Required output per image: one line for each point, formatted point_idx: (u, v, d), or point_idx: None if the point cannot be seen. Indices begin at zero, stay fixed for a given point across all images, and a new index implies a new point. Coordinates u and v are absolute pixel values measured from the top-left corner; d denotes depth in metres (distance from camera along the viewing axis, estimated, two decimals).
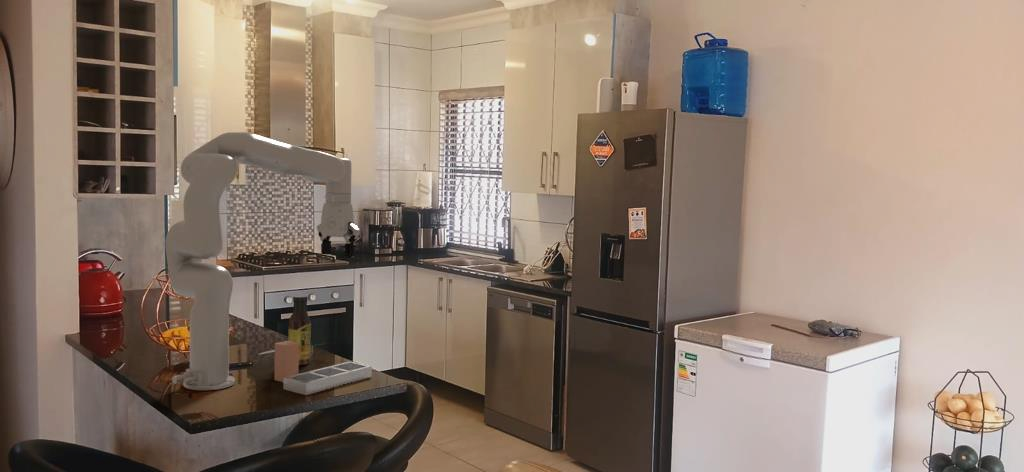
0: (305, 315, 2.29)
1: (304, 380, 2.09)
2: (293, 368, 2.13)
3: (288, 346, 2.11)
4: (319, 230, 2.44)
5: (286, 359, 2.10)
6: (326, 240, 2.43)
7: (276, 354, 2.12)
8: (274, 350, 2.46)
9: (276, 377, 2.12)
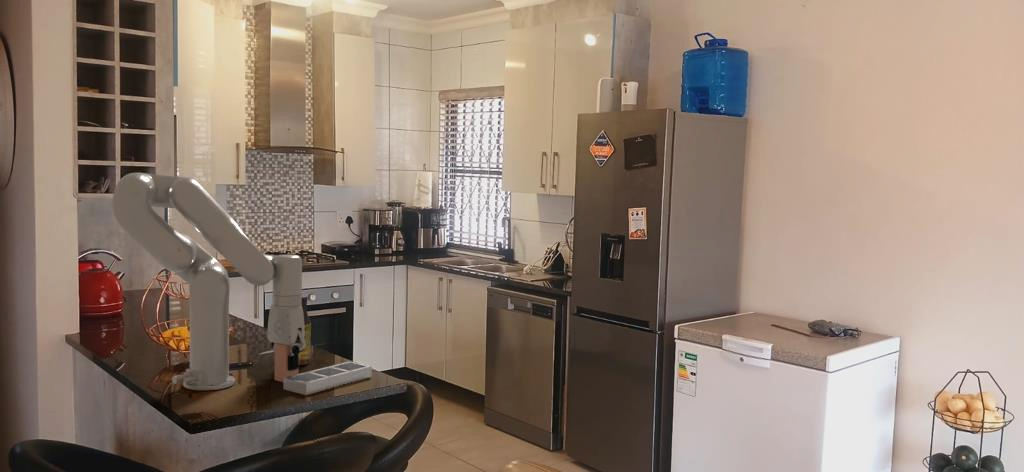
0: (305, 315, 2.29)
1: (304, 380, 2.09)
2: None
3: None
4: None
5: (286, 359, 2.10)
6: None
7: (276, 354, 2.12)
8: None
9: (276, 377, 2.13)
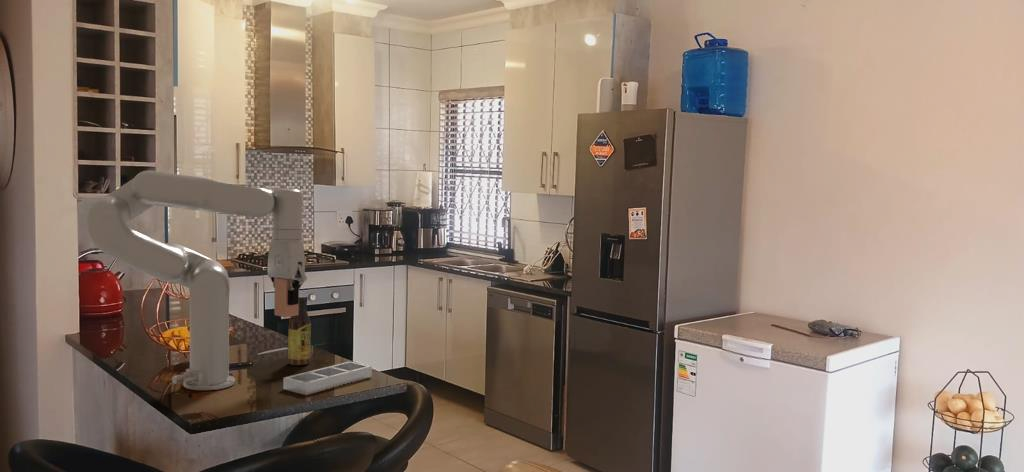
0: (305, 315, 2.29)
1: (304, 380, 2.09)
2: None
3: None
4: (271, 276, 2.14)
5: (286, 293, 2.09)
6: None
7: (276, 289, 2.11)
8: (274, 350, 2.46)
9: (276, 312, 2.11)
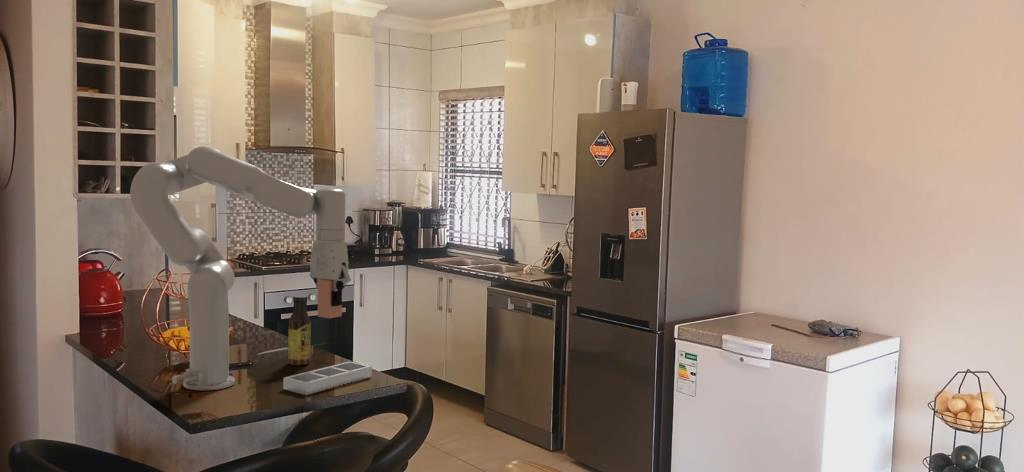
0: (305, 315, 2.29)
1: (304, 380, 2.09)
2: None
3: None
4: (313, 276, 2.12)
5: (330, 294, 2.07)
6: None
7: (319, 290, 2.09)
8: (273, 350, 2.47)
9: (319, 313, 2.09)
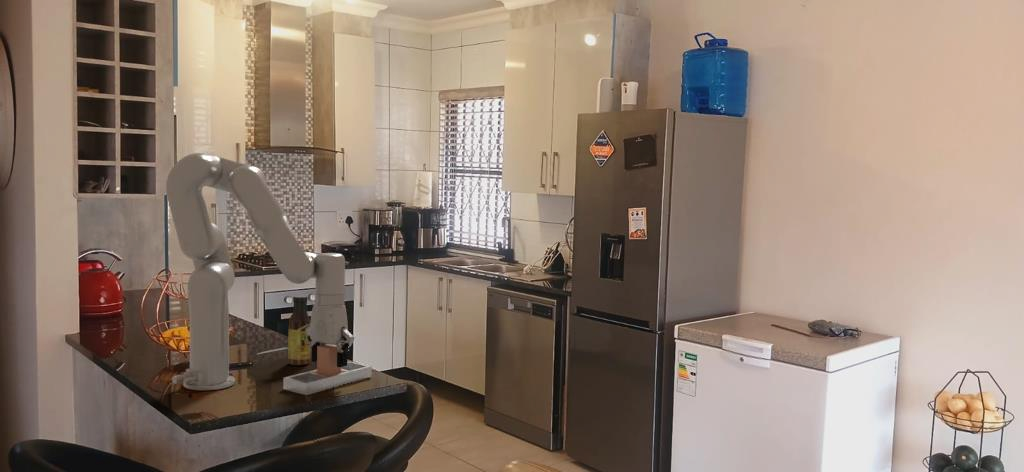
0: (305, 315, 2.29)
1: (304, 380, 2.09)
2: (336, 371, 2.11)
3: (331, 349, 2.09)
4: (308, 333, 2.14)
5: (329, 362, 2.08)
6: (316, 345, 2.13)
7: (318, 357, 2.10)
8: (273, 350, 2.47)
9: None
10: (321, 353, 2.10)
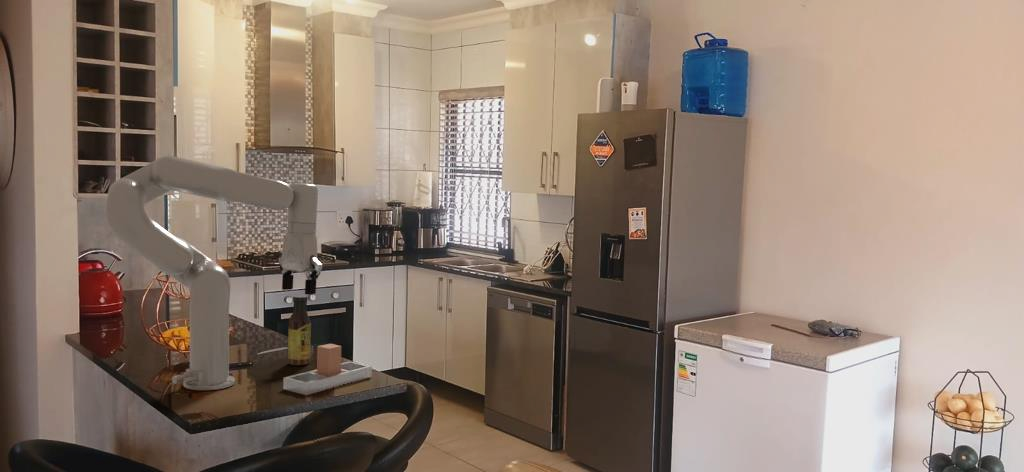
0: (305, 315, 2.29)
1: (304, 380, 2.09)
2: (336, 371, 2.11)
3: (331, 349, 2.09)
4: (280, 262, 2.19)
5: (329, 362, 2.08)
6: (287, 274, 2.18)
7: (318, 357, 2.10)
8: (273, 350, 2.47)
9: None
10: (321, 353, 2.10)
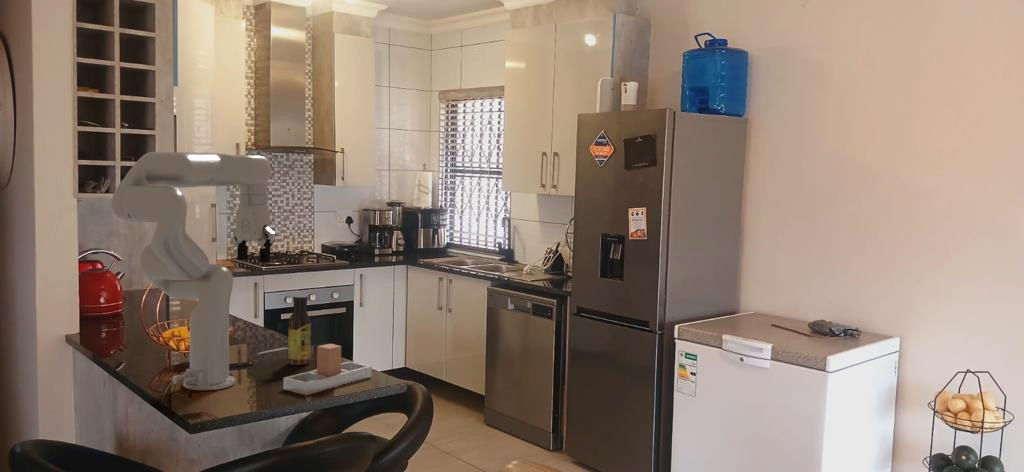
0: (305, 315, 2.29)
1: (304, 380, 2.09)
2: (336, 371, 2.11)
3: (331, 349, 2.09)
4: (234, 233, 2.28)
5: (329, 362, 2.08)
6: (242, 244, 2.27)
7: (318, 357, 2.10)
8: (272, 350, 2.47)
9: None
10: (321, 353, 2.10)
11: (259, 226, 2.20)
